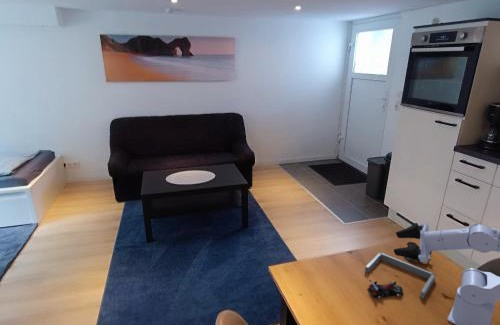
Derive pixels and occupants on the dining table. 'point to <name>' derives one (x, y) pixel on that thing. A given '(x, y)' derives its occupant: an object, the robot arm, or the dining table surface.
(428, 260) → the eagle figurine
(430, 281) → the garage bay
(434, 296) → the dining table surface
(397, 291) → the toy car
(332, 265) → the dining table surface
